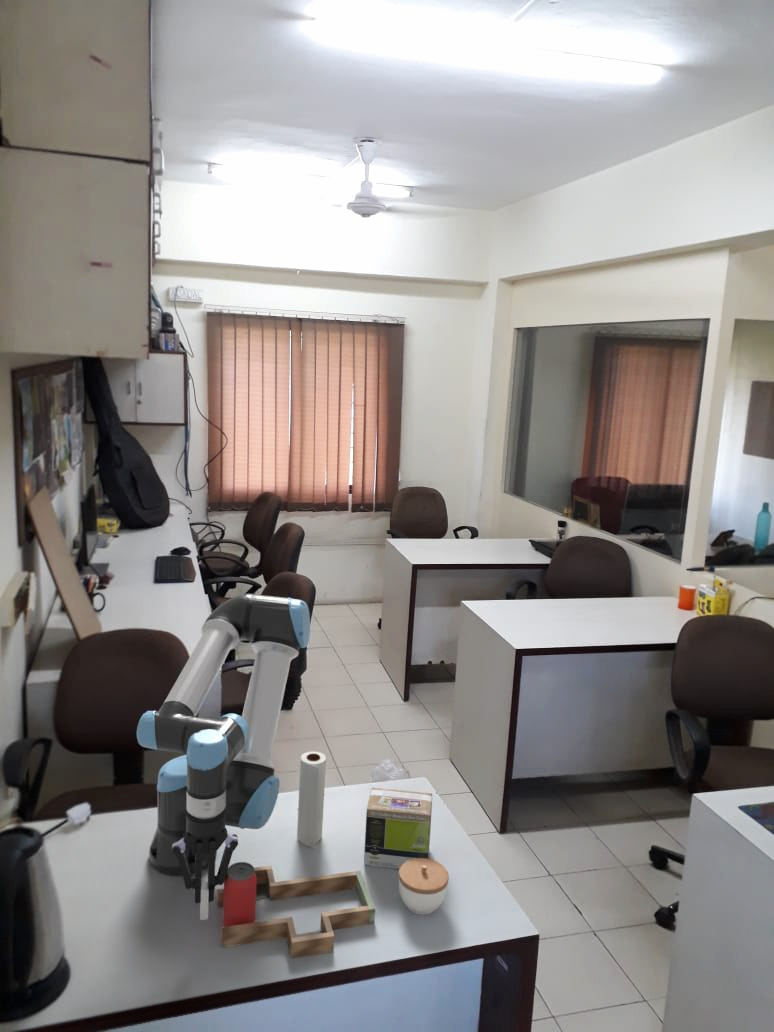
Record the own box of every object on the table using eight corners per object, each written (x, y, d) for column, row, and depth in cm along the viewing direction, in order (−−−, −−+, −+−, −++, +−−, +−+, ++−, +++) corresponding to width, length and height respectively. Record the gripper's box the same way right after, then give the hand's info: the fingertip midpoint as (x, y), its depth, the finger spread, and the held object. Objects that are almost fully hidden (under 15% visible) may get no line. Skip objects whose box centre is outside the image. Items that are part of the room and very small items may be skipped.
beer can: (261, 916, 159) (263, 865, 157) (245, 937, 153) (247, 884, 150) (233, 907, 161) (234, 856, 159) (216, 928, 155) (217, 875, 153)
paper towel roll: (302, 827, 190) (306, 748, 186) (325, 832, 189) (329, 753, 184) (291, 844, 183) (294, 762, 179) (314, 849, 182) (319, 767, 178)
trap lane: (224, 969, 145) (224, 953, 144) (215, 886, 167) (215, 872, 166) (381, 943, 154) (383, 928, 153) (353, 868, 176) (354, 854, 175)
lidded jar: (439, 887, 172) (442, 849, 170) (451, 921, 161) (454, 881, 159) (392, 889, 170) (395, 852, 168) (401, 924, 159) (404, 884, 158)
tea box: (429, 847, 186) (433, 792, 183) (427, 874, 176) (432, 816, 173) (367, 840, 187) (371, 785, 184) (362, 866, 177) (366, 808, 174)
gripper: (171, 823, 144) (170, 932, 149) (241, 816, 148) (238, 923, 153) (171, 801, 151) (170, 906, 156) (238, 795, 155) (235, 898, 160)
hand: (203, 914), depth 154 cm, fingers closed
